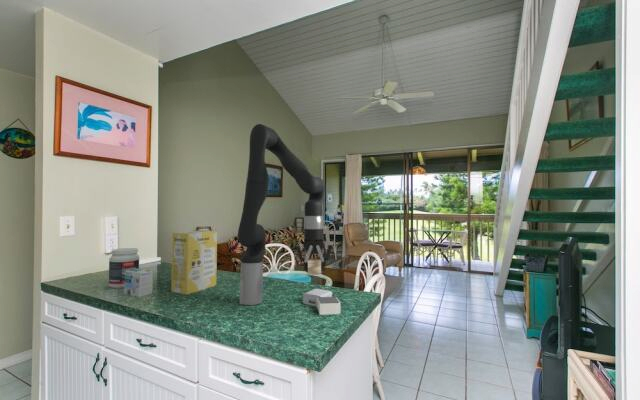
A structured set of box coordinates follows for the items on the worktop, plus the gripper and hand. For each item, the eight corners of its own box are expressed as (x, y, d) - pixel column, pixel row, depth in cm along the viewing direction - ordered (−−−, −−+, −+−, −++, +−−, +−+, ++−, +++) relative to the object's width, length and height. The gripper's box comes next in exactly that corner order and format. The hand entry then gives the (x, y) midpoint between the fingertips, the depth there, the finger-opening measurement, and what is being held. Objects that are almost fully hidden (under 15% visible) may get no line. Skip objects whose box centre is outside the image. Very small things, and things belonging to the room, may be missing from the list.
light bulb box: (123, 294, 135) (123, 270, 136) (137, 290, 142) (137, 268, 142) (139, 297, 131) (140, 273, 132) (153, 293, 138) (153, 270, 138)
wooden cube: (308, 274, 111) (307, 261, 112) (307, 272, 116) (306, 259, 116) (321, 274, 112) (321, 261, 112) (319, 271, 117) (319, 259, 117)
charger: (338, 298, 133) (321, 308, 120) (320, 295, 137) (302, 304, 124) (338, 287, 133) (321, 296, 120) (320, 285, 138) (302, 292, 125)
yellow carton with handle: (201, 282, 157) (202, 230, 158) (216, 285, 152) (217, 231, 153) (171, 291, 141) (172, 232, 141) (186, 294, 136) (188, 233, 137)
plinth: (319, 314, 112) (319, 303, 112) (317, 307, 120) (317, 296, 120) (340, 313, 113) (340, 302, 113) (336, 306, 121) (336, 296, 121)
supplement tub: (127, 289, 144) (128, 251, 144) (101, 288, 144) (102, 251, 145) (144, 282, 157) (144, 247, 157) (120, 282, 157) (121, 247, 157)
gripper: (295, 228, 110) (295, 274, 110) (333, 227, 112) (333, 273, 111) (295, 227, 118) (295, 270, 117) (330, 226, 119) (330, 269, 119)
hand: (314, 271), depth 114 cm, fingers closed on wooden cube, 5 cm apart
